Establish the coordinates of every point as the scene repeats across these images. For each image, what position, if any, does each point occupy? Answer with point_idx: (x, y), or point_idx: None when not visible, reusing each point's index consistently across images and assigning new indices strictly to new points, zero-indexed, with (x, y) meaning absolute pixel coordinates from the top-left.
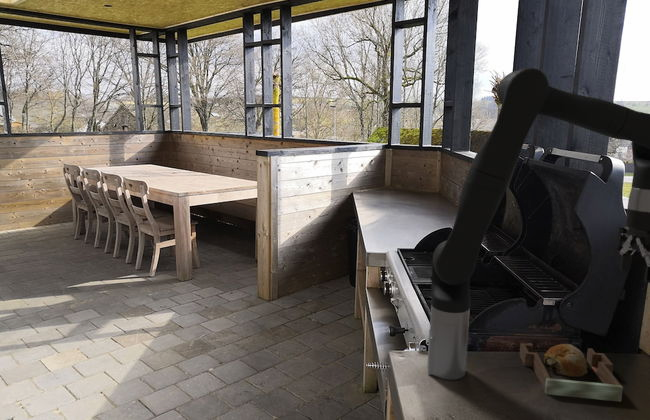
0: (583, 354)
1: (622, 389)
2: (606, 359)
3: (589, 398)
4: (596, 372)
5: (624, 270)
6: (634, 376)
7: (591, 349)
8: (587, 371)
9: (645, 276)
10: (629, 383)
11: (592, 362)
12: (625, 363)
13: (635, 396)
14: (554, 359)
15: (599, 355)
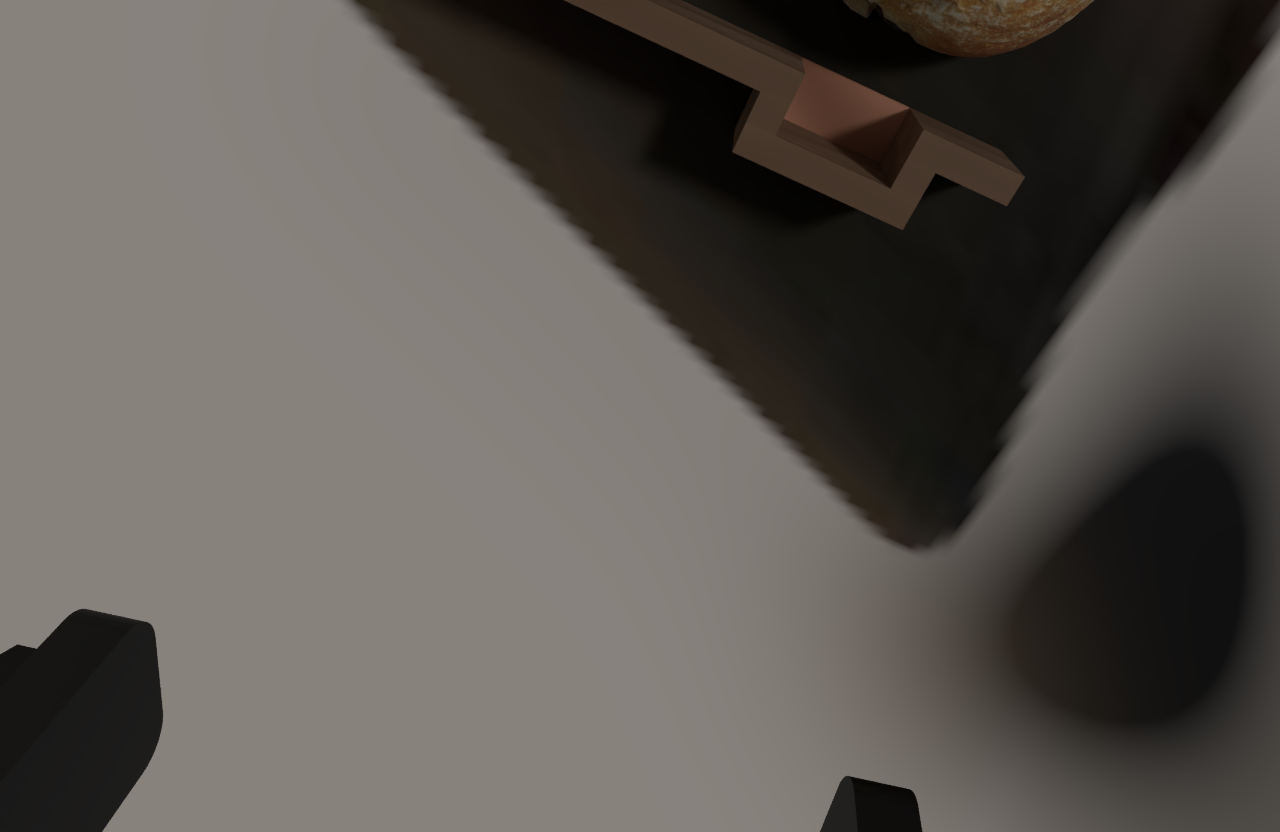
0: (923, 16)
1: None
2: (817, 170)
3: None
4: (820, 71)
5: (834, 811)
6: (713, 297)
7: (993, 186)
8: (852, 9)
9: (54, 685)
10: (646, 191)
11: (909, 118)
12: (868, 382)
13: (502, 93)
14: None
15: (895, 176)
